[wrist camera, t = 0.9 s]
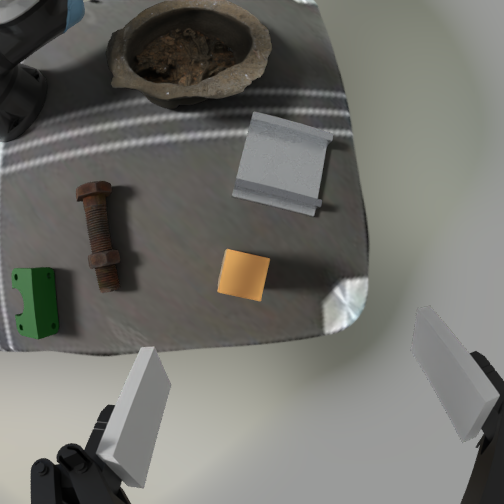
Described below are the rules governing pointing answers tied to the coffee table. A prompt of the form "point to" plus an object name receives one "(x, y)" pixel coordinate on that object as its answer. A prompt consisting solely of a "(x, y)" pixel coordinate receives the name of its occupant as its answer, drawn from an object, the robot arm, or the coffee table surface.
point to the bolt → (99, 233)
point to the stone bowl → (189, 52)
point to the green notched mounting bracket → (36, 301)
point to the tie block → (243, 274)
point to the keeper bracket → (282, 164)
